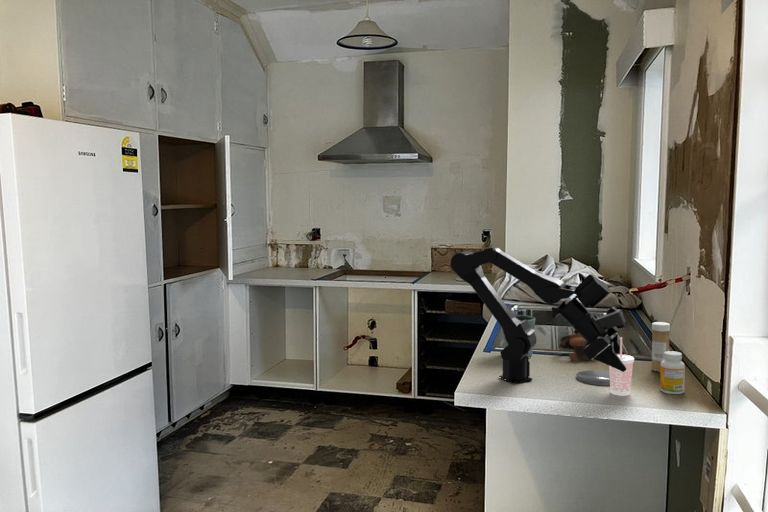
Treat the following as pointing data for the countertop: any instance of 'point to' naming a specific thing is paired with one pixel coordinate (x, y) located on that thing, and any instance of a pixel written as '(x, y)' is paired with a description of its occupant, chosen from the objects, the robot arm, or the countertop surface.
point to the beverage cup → (621, 375)
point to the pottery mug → (574, 346)
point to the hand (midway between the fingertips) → (626, 367)
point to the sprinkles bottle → (659, 343)
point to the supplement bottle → (672, 373)
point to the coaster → (594, 377)
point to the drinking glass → (522, 317)
